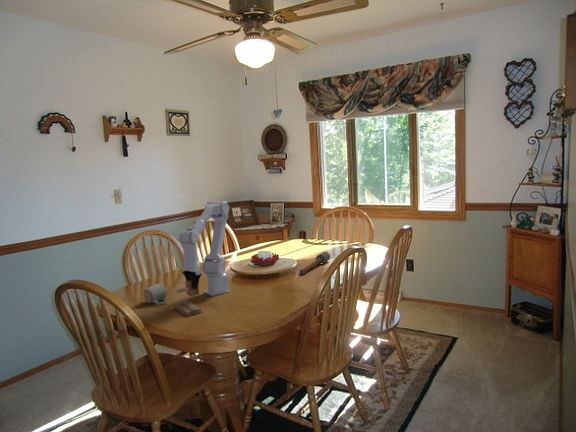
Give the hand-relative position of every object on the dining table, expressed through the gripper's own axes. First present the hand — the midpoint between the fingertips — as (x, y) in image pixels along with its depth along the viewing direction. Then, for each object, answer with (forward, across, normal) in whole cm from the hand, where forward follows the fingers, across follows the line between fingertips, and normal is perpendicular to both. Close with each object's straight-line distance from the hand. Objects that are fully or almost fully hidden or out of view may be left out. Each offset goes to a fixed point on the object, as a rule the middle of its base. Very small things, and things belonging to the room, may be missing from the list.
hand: (193, 287), depth 192 cm
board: (+8, +5, -6) cm, 11 cm away
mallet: (+8, -8, +76) cm, 77 cm away
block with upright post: (+3, 0, -3) cm, 5 cm away
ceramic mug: (+8, -15, -11) cm, 20 cm away
